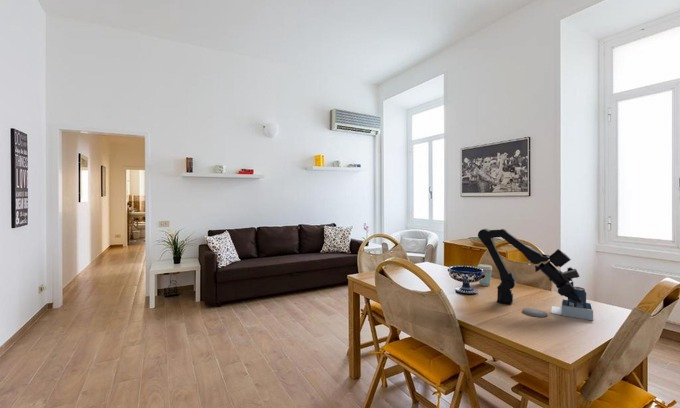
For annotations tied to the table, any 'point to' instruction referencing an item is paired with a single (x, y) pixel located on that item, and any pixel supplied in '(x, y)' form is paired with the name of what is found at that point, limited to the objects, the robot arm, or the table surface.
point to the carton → (574, 311)
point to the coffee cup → (486, 274)
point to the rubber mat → (534, 312)
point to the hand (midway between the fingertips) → (580, 300)
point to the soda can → (581, 295)
